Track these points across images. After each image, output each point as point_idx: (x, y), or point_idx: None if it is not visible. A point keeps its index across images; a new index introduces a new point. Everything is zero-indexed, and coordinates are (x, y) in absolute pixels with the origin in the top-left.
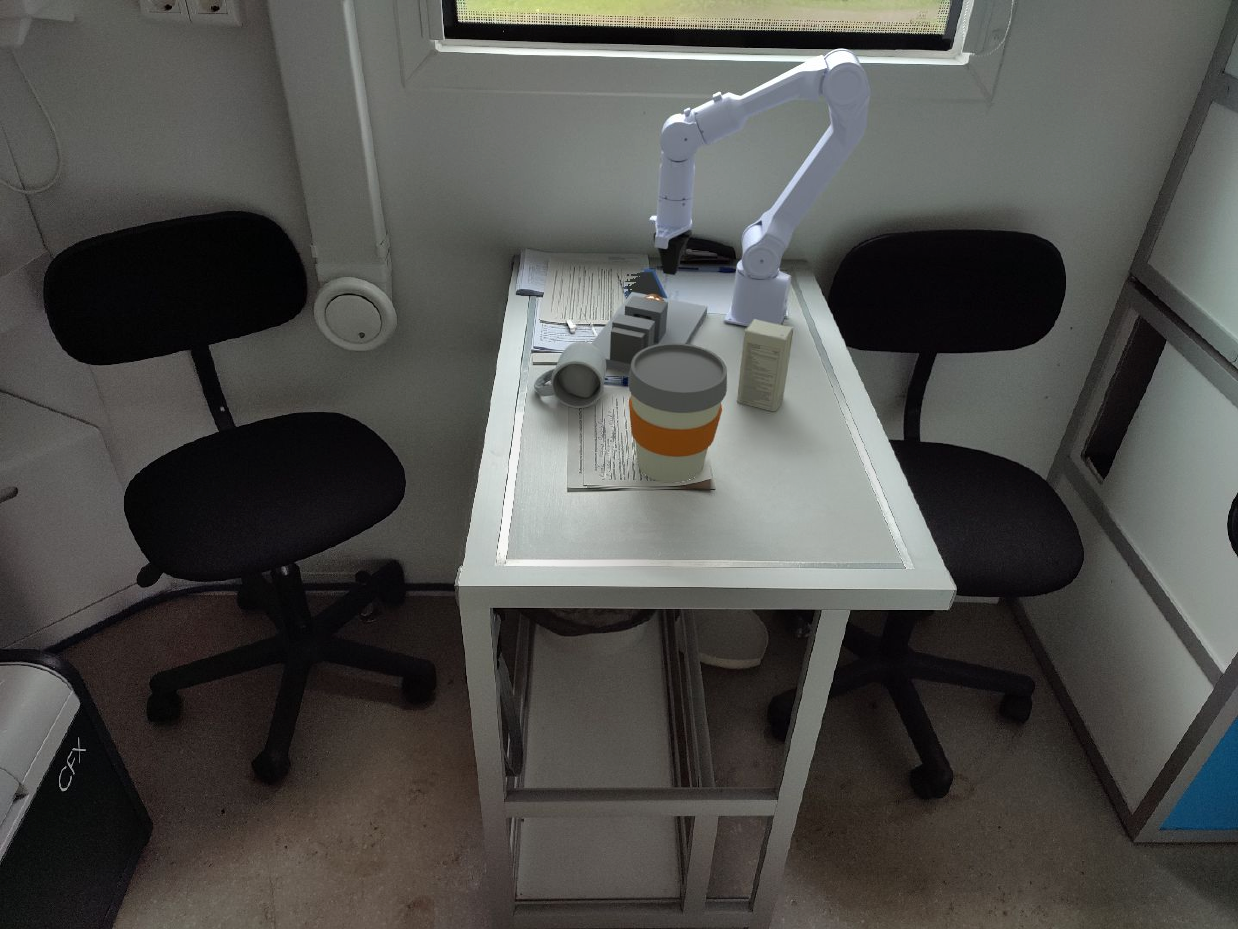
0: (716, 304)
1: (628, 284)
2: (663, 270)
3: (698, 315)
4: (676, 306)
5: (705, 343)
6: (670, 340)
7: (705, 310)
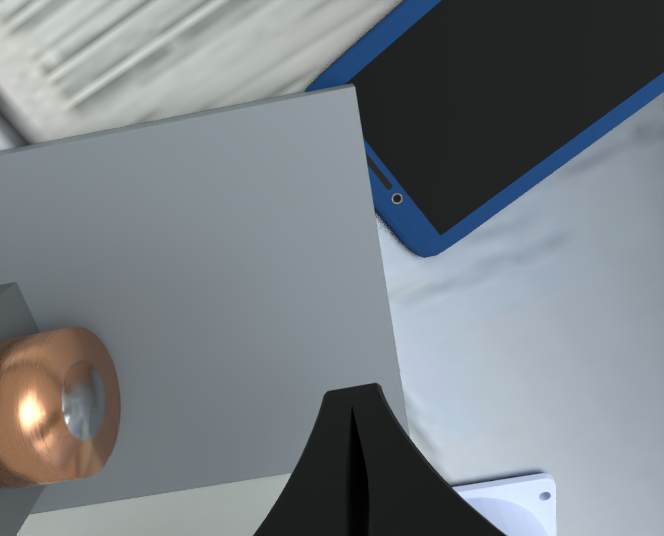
0: (512, 422)
1: None
2: (321, 406)
3: None
4: (333, 358)
5: (188, 506)
6: None
7: None
